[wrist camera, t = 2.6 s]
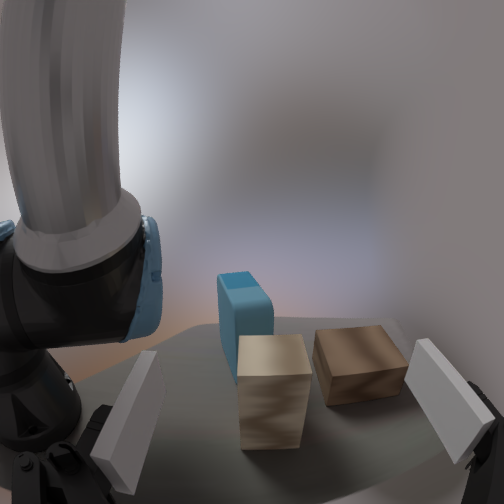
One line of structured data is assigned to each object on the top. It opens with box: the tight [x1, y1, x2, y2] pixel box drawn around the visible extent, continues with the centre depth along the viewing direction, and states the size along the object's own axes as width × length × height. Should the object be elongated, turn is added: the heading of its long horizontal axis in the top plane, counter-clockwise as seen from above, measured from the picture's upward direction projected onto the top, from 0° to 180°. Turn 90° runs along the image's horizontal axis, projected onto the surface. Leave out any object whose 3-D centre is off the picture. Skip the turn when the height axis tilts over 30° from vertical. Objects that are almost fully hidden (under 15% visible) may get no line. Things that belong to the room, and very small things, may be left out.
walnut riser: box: [312, 325, 409, 406], centre depth 35 cm, size 10×10×5 cm
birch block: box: [237, 334, 312, 450], centre depth 26 cm, size 6×6×11 cm
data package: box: [217, 271, 274, 384], centre depth 38 cm, size 12×4×12 cm, turn 16°
